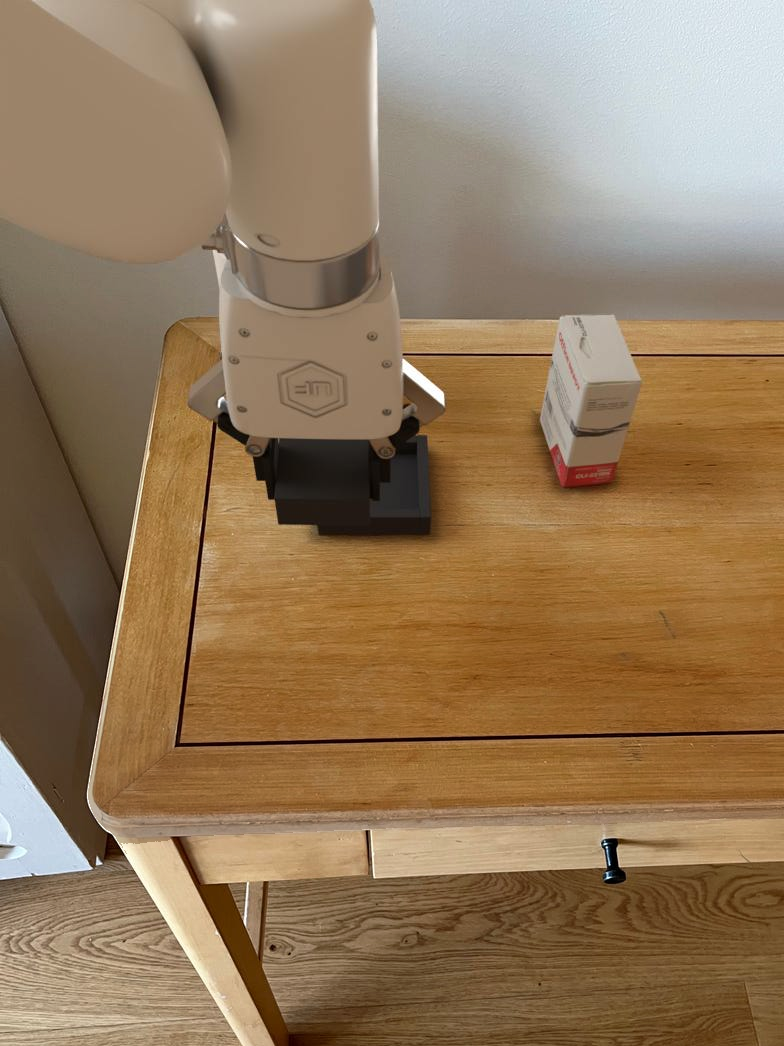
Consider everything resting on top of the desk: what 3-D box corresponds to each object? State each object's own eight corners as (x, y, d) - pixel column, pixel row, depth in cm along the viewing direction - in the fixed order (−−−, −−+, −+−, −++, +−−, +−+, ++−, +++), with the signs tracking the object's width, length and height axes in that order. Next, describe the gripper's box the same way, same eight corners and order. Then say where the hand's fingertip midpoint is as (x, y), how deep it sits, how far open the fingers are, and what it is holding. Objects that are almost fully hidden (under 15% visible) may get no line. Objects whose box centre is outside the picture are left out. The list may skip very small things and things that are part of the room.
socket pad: (318, 535, 79) (316, 517, 77) (320, 452, 84) (319, 433, 82) (430, 535, 80) (431, 517, 78) (426, 453, 85) (427, 434, 83)
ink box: (614, 483, 84) (644, 380, 74) (560, 489, 83) (583, 385, 74) (589, 414, 89) (614, 308, 79) (538, 419, 88) (556, 312, 78)
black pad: (278, 525, 63) (274, 498, 61) (283, 457, 66) (279, 430, 64) (369, 525, 64) (369, 499, 62) (370, 459, 67) (369, 432, 65)
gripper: (122, 289, 47) (187, 526, 62) (476, 300, 48) (455, 529, 63) (143, 197, 51) (199, 441, 66) (469, 211, 52) (451, 446, 67)
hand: (325, 482), depth 64 cm, fingers closed on black pad, 6 cm apart
